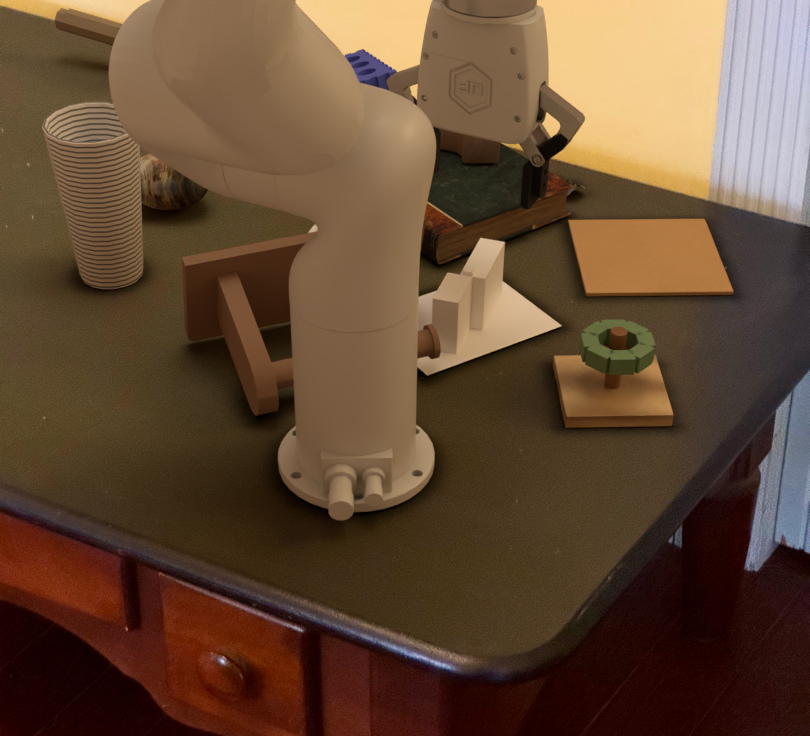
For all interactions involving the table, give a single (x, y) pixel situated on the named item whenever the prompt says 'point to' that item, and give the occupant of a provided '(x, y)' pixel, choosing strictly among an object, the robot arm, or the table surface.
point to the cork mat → (648, 257)
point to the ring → (617, 359)
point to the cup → (98, 191)
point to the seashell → (166, 186)
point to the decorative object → (87, 25)
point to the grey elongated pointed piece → (573, 186)
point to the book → (484, 204)
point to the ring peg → (611, 392)
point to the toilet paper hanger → (254, 310)
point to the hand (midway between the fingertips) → (478, 189)
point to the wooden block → (470, 147)
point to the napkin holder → (478, 311)
